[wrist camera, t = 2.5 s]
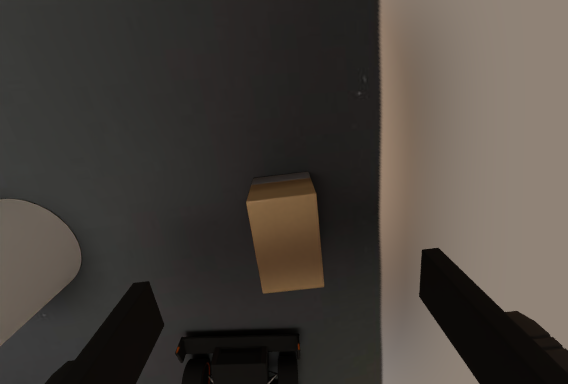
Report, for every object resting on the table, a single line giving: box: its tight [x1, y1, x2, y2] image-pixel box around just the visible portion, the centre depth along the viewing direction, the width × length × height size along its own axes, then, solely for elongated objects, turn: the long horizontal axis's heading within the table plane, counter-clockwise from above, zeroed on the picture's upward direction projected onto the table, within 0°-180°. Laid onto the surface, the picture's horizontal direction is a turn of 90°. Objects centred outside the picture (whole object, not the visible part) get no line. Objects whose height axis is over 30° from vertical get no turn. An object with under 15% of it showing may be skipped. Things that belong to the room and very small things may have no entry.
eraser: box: [246, 172, 324, 294], centre depth 19 cm, size 6×4×4 cm, turn 7°
